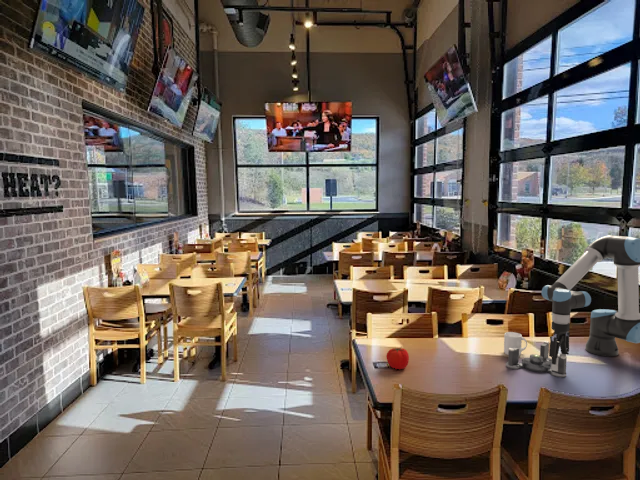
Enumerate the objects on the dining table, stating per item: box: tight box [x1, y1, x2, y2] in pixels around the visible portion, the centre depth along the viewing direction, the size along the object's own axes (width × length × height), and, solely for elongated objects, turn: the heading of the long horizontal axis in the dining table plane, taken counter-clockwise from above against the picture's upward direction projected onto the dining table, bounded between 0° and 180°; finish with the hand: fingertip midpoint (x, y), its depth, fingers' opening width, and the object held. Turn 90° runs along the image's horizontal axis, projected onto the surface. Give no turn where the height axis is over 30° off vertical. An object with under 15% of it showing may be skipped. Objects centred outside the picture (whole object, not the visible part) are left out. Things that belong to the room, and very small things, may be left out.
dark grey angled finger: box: [507, 347, 520, 366], centre depth 218 cm, size 6×2×8 cm, turn 125°
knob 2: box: [539, 340, 550, 360], centre depth 224 cm, size 6×2×8 cm, turn 134°
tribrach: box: [505, 353, 567, 378], centre depth 217 cm, size 25×24×6 cm
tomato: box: [385, 347, 410, 370], centre depth 219 cm, size 11×13×10 cm
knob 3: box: [550, 355, 568, 374], centre depth 207 cm, size 6×2×8 cm, turn 34°
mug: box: [503, 331, 528, 356], centre depth 235 cm, size 9×12×11 cm
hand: (558, 368), depth 208 cm, fingers open, 6 cm apart
